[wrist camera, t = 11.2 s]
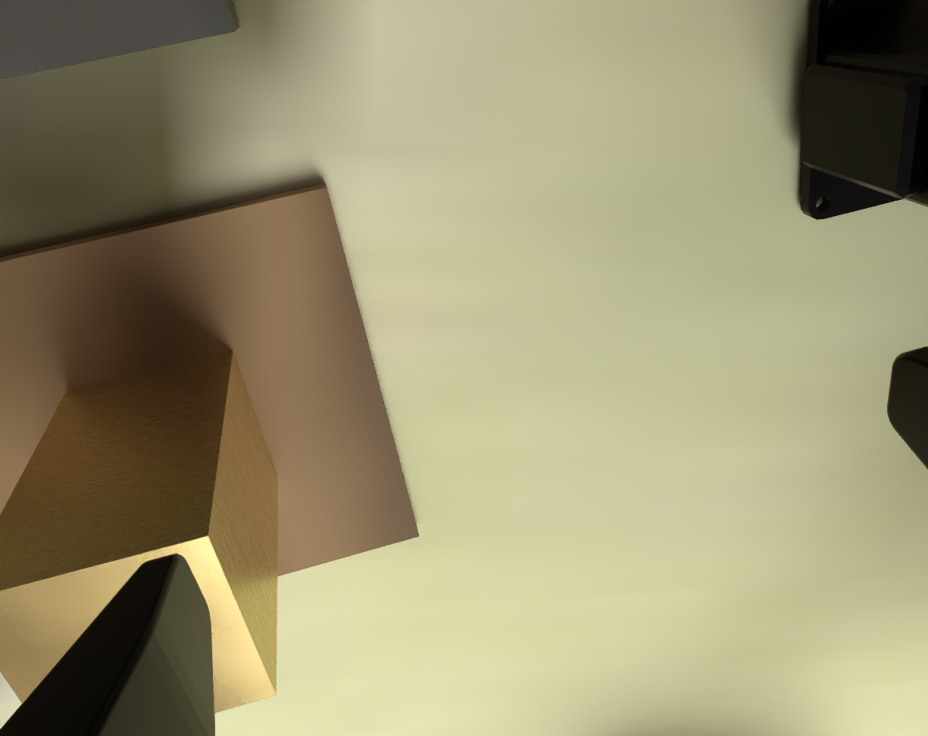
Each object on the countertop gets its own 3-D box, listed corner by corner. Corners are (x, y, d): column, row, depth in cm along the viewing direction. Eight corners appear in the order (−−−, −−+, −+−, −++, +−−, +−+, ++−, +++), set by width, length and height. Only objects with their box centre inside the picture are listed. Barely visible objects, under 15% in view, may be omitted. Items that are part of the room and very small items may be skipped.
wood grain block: (233, 350, 21) (208, 535, 14) (278, 478, 23) (276, 695, 16) (66, 389, 20) (-47, 603, 13) (128, 516, 22) (59, 757, 15)
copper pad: (325, 183, 20) (326, 187, 19) (416, 526, 25) (419, 536, 25) (-153, 291, 18) (-163, 299, 18) (58, 627, 24) (54, 639, 24)
